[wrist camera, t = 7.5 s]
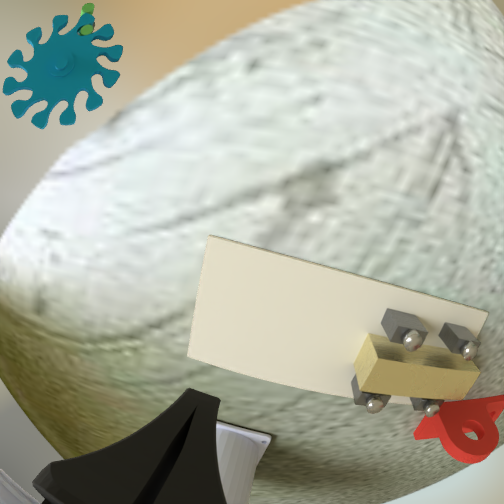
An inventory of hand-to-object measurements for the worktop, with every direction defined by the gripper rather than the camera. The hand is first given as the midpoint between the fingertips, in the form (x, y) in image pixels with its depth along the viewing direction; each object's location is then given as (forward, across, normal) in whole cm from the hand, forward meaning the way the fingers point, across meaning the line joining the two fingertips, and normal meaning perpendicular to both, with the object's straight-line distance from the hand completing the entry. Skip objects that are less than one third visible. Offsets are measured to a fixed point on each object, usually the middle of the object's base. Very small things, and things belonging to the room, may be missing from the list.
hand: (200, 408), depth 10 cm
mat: (+10, -8, 0) cm, 13 cm away
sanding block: (+10, -14, 0) cm, 17 cm away
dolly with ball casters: (+10, -14, 0) cm, 17 cm away
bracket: (+10, -26, +7) cm, 29 cm away
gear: (+10, +17, -15) cm, 25 cm away
